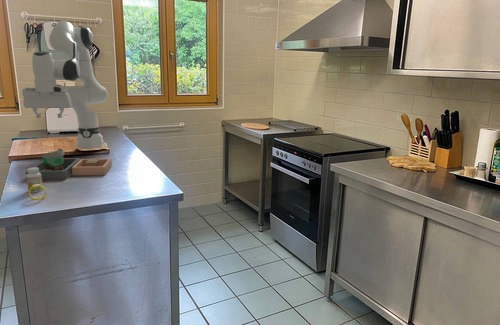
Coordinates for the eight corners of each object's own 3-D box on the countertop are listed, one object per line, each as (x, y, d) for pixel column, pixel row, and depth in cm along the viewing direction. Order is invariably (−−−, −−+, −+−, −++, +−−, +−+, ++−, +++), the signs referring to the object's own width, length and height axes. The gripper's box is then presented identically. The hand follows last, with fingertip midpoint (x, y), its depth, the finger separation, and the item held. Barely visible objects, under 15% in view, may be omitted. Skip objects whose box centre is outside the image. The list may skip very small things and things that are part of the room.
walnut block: (89, 169, 188) (88, 160, 187) (99, 169, 189) (98, 159, 187) (86, 172, 183) (85, 162, 182) (97, 172, 184) (96, 162, 183)
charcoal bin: (46, 166, 192) (45, 158, 191) (81, 165, 194) (80, 158, 193) (26, 180, 169) (25, 171, 168) (66, 179, 171) (65, 171, 170)
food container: (54, 174, 178) (52, 154, 175) (43, 173, 179) (41, 153, 176) (71, 167, 190) (69, 149, 187) (61, 167, 191) (59, 148, 188)
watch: (30, 201, 144) (27, 187, 143) (30, 199, 147) (27, 185, 145) (47, 198, 147) (44, 184, 145) (47, 196, 149) (44, 182, 148)
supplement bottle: (34, 188, 159) (31, 166, 156) (45, 188, 158) (43, 167, 156) (25, 192, 154) (22, 169, 151) (37, 193, 153) (34, 170, 150)
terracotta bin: (82, 166, 192) (81, 159, 191) (112, 166, 195) (111, 158, 194) (72, 175, 177) (71, 167, 176) (105, 174, 179) (104, 166, 178)
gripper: (18, 87, 166) (22, 118, 170) (66, 88, 169) (69, 118, 173) (24, 87, 172) (28, 116, 176) (71, 87, 175) (74, 116, 179)
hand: (49, 117), depth 174 cm, fingers open, 8 cm apart
